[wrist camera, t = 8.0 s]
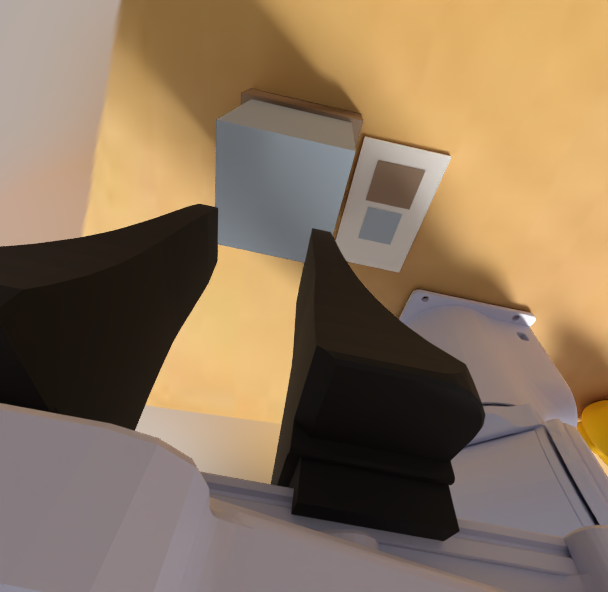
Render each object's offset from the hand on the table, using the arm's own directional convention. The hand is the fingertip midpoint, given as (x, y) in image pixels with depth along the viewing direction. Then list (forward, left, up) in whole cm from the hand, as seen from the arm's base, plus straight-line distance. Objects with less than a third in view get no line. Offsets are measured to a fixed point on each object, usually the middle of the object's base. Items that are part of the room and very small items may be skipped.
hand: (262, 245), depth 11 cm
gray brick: (0, 0, -8) cm, 8 cm away
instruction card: (-6, +2, -10) cm, 12 cm away
